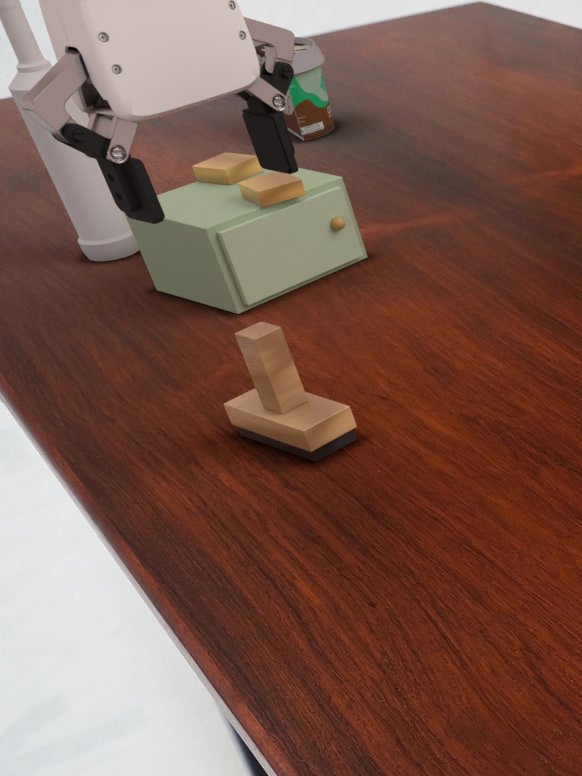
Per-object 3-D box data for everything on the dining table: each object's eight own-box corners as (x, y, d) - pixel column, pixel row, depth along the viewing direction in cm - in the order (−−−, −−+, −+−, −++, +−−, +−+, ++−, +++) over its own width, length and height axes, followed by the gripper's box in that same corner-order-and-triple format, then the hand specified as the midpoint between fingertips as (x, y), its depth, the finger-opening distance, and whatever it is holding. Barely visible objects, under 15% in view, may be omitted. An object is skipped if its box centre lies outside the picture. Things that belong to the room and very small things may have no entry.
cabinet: (249, 317, 113) (216, 231, 109) (156, 290, 119) (121, 207, 114) (378, 260, 123) (353, 178, 119) (287, 237, 129) (259, 159, 124)
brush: (315, 464, 92) (273, 354, 87) (236, 436, 96) (191, 329, 91) (361, 438, 95) (323, 330, 90) (282, 412, 99) (242, 307, 94)
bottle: (156, 243, 129) (46, -22, 114) (115, 263, 125) (-4, -9, 110) (113, 240, 130) (-1, -23, 116) (72, 260, 126) (-51, -10, 112)
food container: (359, 132, 157) (334, 47, 151) (308, 143, 154) (280, 58, 148) (325, 111, 165) (300, 30, 159) (275, 122, 162) (248, 39, 156)
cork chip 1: (230, 185, 118) (224, 169, 117) (197, 181, 119) (191, 165, 119) (263, 171, 121) (258, 155, 120) (230, 167, 123) (225, 152, 122)
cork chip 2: (263, 208, 113) (257, 191, 112) (242, 198, 115) (236, 182, 114) (307, 194, 115) (301, 178, 115) (286, 185, 118) (280, 169, 117)
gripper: (201, -119, 82) (292, 147, 92) (-89, -69, 70) (52, 231, 79) (278, -114, 79) (363, 160, 88) (-12, -61, 66) (124, 250, 76)
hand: (216, 194), depth 84 cm, fingers open, 9 cm apart
